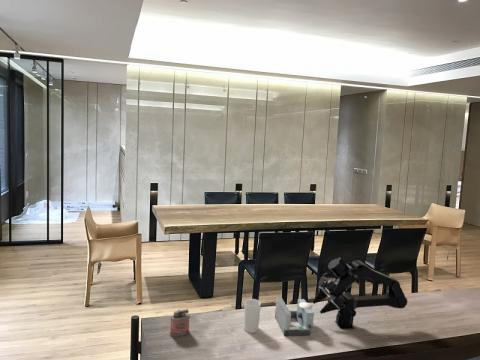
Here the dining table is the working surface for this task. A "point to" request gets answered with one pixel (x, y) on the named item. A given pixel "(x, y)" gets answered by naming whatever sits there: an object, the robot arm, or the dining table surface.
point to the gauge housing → (288, 320)
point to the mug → (251, 315)
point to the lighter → (180, 323)
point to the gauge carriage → (305, 314)
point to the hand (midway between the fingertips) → (316, 307)
